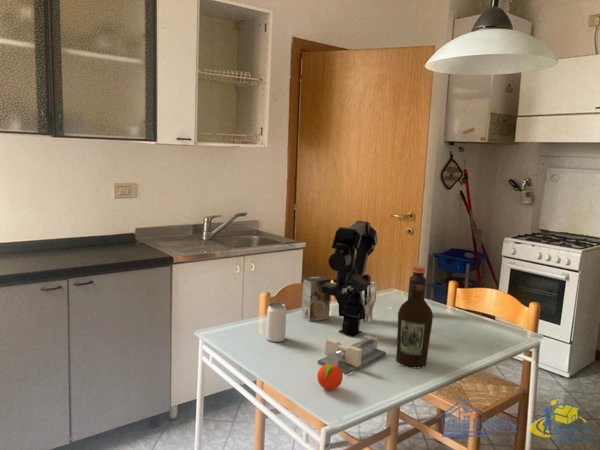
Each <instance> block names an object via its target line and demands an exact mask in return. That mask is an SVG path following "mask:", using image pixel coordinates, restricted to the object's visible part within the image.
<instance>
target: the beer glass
mask: <svg viewBox="0 0 600 450" xmlns="http://www.w3.org/2000/svg"><path fill="white" fill-rule="evenodd" d="M370 283H371V285H369V286H368V287H367V289H366V291H362V292H361V296H362V299H363V304H364V308H365V319H362V320H360V323H363V324H371V323H373V322H374V314H373V313H374V308H375V304H376V300H377V299H376V298H377V287H378V286H377V283H376V282H373V281H371V282H370Z"/></svg>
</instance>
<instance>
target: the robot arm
mask: <svg viewBox="0 0 600 450" xmlns="http://www.w3.org/2000/svg"><path fill="white" fill-rule="evenodd" d="M377 244H378V233H377V230H375V228H374V227H372V226H371V222H368V221H363V220H357V221H355V223H353V224H352V225H350V226H346V227H345V226H339V227H338V229H336V231H335V234H334V239H333V241H332V245H331V249H334V253H332V254H331V255H329V258H328V261H327V262H328V265H329V268H330V269H331V270H332V271H334V272H335V271H336V275H335V276H336V277H335V278H334V279H333V283H332V282H331V283H326V284H323V285H322V286H321V293H325V294H328V295H330V296H333V297H334V298H335V300H336V302H337V305H338V317H342V325H341V326H342V327H341V328H342V329H340V330H338V333H340V334H343V335H346V336H350V337H351V338H353V337H356V336H359V335H361V334H363V331H362V330H360V323H361V322H360V320H362V319H365V308H364V304H363V299H362V296H361V292H362V291H366V289H367V287H368V286H369V285H371V283H370V282H372V281H371V275H369V274H366V268H367V265H368V264H367V263H368V259H369V256H370V255H372V253H373V252H374V251H375V247H376V246H377Z"/></svg>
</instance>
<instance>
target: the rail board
mask: <svg viewBox="0 0 600 450" xmlns="http://www.w3.org/2000/svg"><path fill="white" fill-rule="evenodd" d="M354 344H355V343H354ZM354 344H352V345H354ZM352 345H348V347H350V346H352ZM361 349H362V356H361V365H360V366H358V367H356V366H353V365H350V364H348V363H345V362H342V366H341V367H339V368H340V370H341V372H342V374H343V373H344V374H343V375H345V374H349V373H351V372H352V373H354V372H356V371H358V370H361V369H362V368H364V367H366V366H368V365H369V363H370V364H372V363H374V362H375V361H377V360H379V359H381V358H383V357H384V355H385V356H387V355H386V354H387V351H384V350H381V349H379V348H377V349H376V350H371V349H368V348H365V347H363V348H361ZM344 357H345V356H344ZM317 364H318V365H320V366H323V365H325V364H327V356H325V357H322V358H320V359H318V360H317ZM361 367H362V368H361ZM353 371H354V372H353ZM352 373H351V374H352ZM349 375H350V374H349Z"/></svg>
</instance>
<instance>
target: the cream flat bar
mask: <svg viewBox="0 0 600 450" xmlns="http://www.w3.org/2000/svg"><path fill="white" fill-rule="evenodd" d="M349 346H350V347H349ZM341 350H344V351H345V357H342V362H345V363H348V364H350V365H353V366H356V367H358V366H360V365H361V356H362V349H360V348H357V347H354V346H351V345H345V344H343V343H340V340H336V339H333V338H331V337H329V338H327V339H326V340H325V351H324V355H325V356H326V357H327V356H328V352H330V351H333V352H339V351H341Z"/></svg>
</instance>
